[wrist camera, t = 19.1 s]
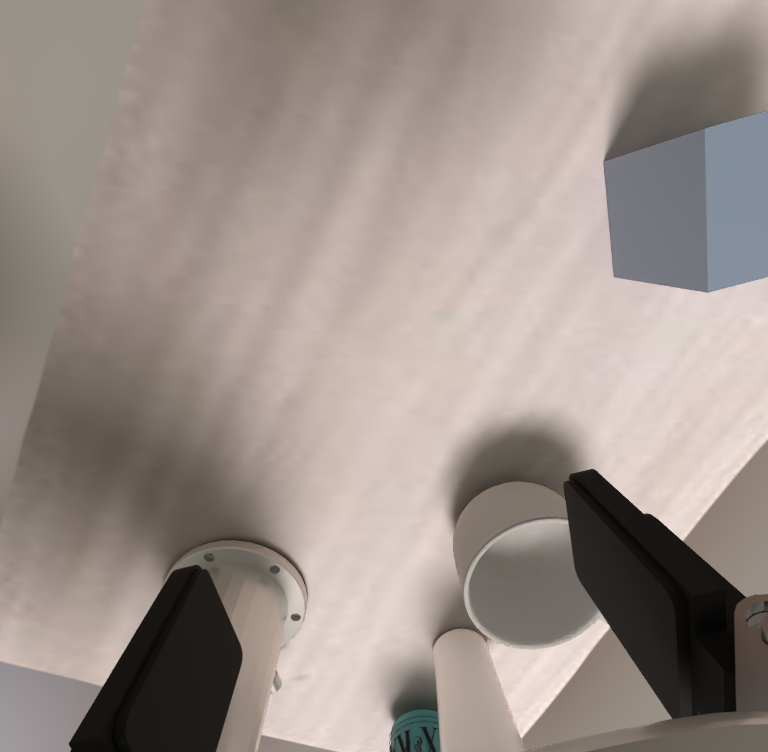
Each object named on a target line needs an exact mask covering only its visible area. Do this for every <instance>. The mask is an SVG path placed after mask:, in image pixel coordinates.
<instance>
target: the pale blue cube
mask: <svg viewBox="0 0 768 752" xmlns="http://www.w3.org/2000/svg"><path fill="white" fill-rule="evenodd" d="M604 170H605V182H606V193H607V204H608V215H609V226H610V238H611V249H612V260H613V271H614V277H616V278H622V279H628V280H634V281H640V282H646V283H652V284H658V285H665V286H671V287H677V288H683V289H689V290H695V291H701V292H707V293H708V292H712V291H716V290H720V289H724V288H727V287H731V286H735V285H739V284H743V283H746V282H750V281H754V280H758V279H762V278H765V277H768V111H765V112H761V113H758V114H754V115H751V116H747V117H744V118H740V119H736V120H733V121H729V122H726V123H722V124H719V125H715V126H712V127H708V128H705V129H702V130H699V131H696V132H693V133H690V134H686V135H683V136H680V137H677V138H674V139H671V140H668V141H665V142H662V143H659V144H656V145H653V146H650V147H647V148H644V149H640V150H637V151H634V152H631V153H628V154H625V155H622V156H619V157H616V158H613V159H610V160H607V161H604Z"/></svg>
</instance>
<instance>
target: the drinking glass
mask: <svg viewBox="0 0 768 752" xmlns="http://www.w3.org/2000/svg"><path fill="white" fill-rule="evenodd" d="M433 661H434V668H435V677H436V691H437V706H438V722H439V738H440V752H521V751H525V747H524V744H523V742H522V739H521V737H520V734H519V731H518V729H517V726H516V723H515V721H514V718H513V716H512V713H511V710H510V708H509V705H508V702H507V700H506V697H505V694H504V692H503V689H502V686H501V684H500V681H499V678H498V676H497V673H496V670H495V667H494V665H493V662H492V659H491V655H490V652H489V648H488V645H487V643H486V641H485V639H484V638H483V637H482V636H481V635H480V634H478V633H477V632H475V631H473V630H470V629H454V630H451V631H448V632H446V633H444V634H443V635H442V636H440V637H439V638H438V640H437V641H436V643H435V645H434V648H433Z"/></svg>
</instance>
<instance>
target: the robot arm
mask: <svg viewBox="0 0 768 752" xmlns="http://www.w3.org/2000/svg"><path fill="white" fill-rule="evenodd" d="M564 493H565V501H566V508H567V516H568V523H569V531H570V538H571V546H572V553H573V561H574V567H575V571H576V574H577V577H578V579H579V581H580V583H581V584H582V586H583V587H584V589H585V590H586V592H587V593H588V595H589V596H590V597H591V599H592V600H593V602H594V603H595V605H596V606H597V608H598V609H599V611H600V612H601V614H602V615H603V617H604V618H605V620H606V621H607V623H608V624H609V626H610V627H611V629H612V630H613V632H614V633H615V634H616V636H617V637H618V639H619V640H620V642H621V643H622V645H623V646H624V648H625V649H626V650H627V652H628V654H629V655H630V657H631V658H632V660H633V661H634V663H635V664H636V666H637V667H638V669H639V670H640V671H641V673H642V675H643V676H644V677H645V679H646V680H647V682H648V683H649V685H650V686H651V688H652V689H653V691H654V692H655V694H656V695H657V697H658V698H659V700H660V701H661V703H662V704H663V706H664V707H665V709H666V710H667V712H668V713H669V714H670V716H671V717H672V719H670V720H665V721H660V722H656V723H651V724H646V725H641V726H636V727H631V728H626V729H622V730H617V731H611V732H606V733H602V734H597V735H592V736H587V737H583V738H578V739H574V740H570V741H565V742H561V743H556V744H552V745H547V746H543V747H538V748H534V749H530V750H525V751H521V752H768V594H763V595H753V596H750V597H747V598H746V597H745V596H744V595H743V594H742V593H741V592H739V591H738V590H737V589H736V588H735V587H734V586H733V585H731V584H730V583H729V582H728V581H727V580H726V579H725V578H724V577H722V576H721V575H720V574H719V573H718V572H717V571H716V570H715V569H713V568H712V567H711V566H710V565H709V564H708V563H707V562H705V561H704V560H703V559H702V558H701V557H700V556H699V555H698V554H696V553H695V552H694V551H693V550H692V549H691V548H690V547H689V546H687V545H686V544H685V543H684V542H683V541H682V540H681V539H679V538H678V537H677V536H676V535H675V534H674V533H673V532H672V531H670V530H669V529H668V528H667V527H666V526H665V525H664V524H662V523H661V522H660V521H659V520H658V519H657V518H655V517H654V516H652V515H651V514H647V513H646V514H643V513H642V512H641V511H640V510H639V509H638V508H637V507H635V506H634V505H633V504H632V503H631V502H630V501H629V500H628V499H627V498H625V497H624V496H623V495H622V494H621V493H620V492H619V491H618V490H617V489H616V488H614V487H613V486H612V485H611V484H610V483H609V482H608V481H607V480H606V479H605V478H603V477H602V476H601V475H600V474H599V473H598V472H597V471H596V470H594V469H590V470H586V471H582V472H577V473H573V474H571V475H570V476H569V481H566V482H564ZM306 609H307V592H306V587H305V584H304V582H303V580H302V577H301V576H300V574H299V573H298V571H297V570H296V569H295V567H294V566H293V565H292V564H291V563H290V562H289V561H287V560H286V559H285V558H284V557H282V556H281V555H279V554H278V553H276V552H275V551H273V550H271V549H268V548H266V547H264V546H262V545H258V544H254V543H251V542H245V541H237V540H227V541H216V542H211V543H207V544H204V545H201V546H199V547H196V548H194V549H192V550H191V551H189V552H187V553H186V554H184V555H183V556H182V557H181V558H180V559H179V560H178V561H177V562H176V563H175V564H174V566H173V567H172V569H171V570H170V572H169V573H168V575H167V577H166V579H165V581H164V583H163V585H162V589H161V591H160V593H159V594H158V596H157V598H156V599H155V601H154V603H153V604H152V606H151V608H150V609H149V611H148V613H147V614H146V616H145V618H144V619H143V621H142V623H141V624H140V626H139V628H138V629H137V631H136V633H135V634H134V636H133V638H132V639H131V641H130V643H129V644H128V646H127V648H126V649H125V651H124V653H123V654H122V656H121V658H120V659H119V661H118V663H117V664H116V666H115V668H114V669H113V671H112V673H111V674H110V676H109V678H108V679H107V681H106V683H105V684H104V686H103V688H102V689H101V691H100V693H99V694H98V696H97V698H96V699H95V701H94V703H93V704H92V706H91V708H90V709H89V711H88V713H87V714H86V716H85V718H84V719H83V721H82V723H81V724H80V726H79V728H78V729H77V731H76V733H75V734H74V736H73V738H72V739H71V741H70V743H69V745H70V747H71V749H72V750H71V752H257V751H258V746H259V742H260V737H261V733H262V728H263V724H264V719H265V715H266V710H267V706H268V701H269V696H270V694H273V693H275V692H277V691H278V690H279V689H280V687H281V685H282V681H281V679H280V677H279V674H278V672H277V671H276V667H277V662H278V658H279V653H280V649H281V647H283V646H284V645H286V644H287V643H288V642H289V641H290V640H292V639H293V638H294V636H295V635H296V634H297V632H298V631H299V630H300V628H301V626H302V624H303V622H304V618H305V613H306Z"/></svg>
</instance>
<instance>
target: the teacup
mask: <svg viewBox="0 0 768 752" xmlns="http://www.w3.org/2000/svg"><path fill="white" fill-rule="evenodd" d="M453 552H454V559H455V564H456V569H457V573H458V577H459V580H460V584H461V587H462V591H463V599H464V604H465V607H466V610H467V612H468V615H469V617H470V619H471V620H472V622H473V623H474V625H475V626H476V627H477V628H478V629H479V630H480V631H481V632H482V633H483V634H484V635H485V636H487V637H488V638H490V639H492V640H493V641H495V642H497V643H499V644H503V645H505V646H508V647H514V648H519V649H542V648H548V647H552V646H556V645H559V644H562V643H564V642H567V641H569V640H571V639H573V638H575V637H576V636H578V635H580V634H581V633H583V632H584V631H585V630H586V629H588V628H589V627H590V626H591V625H592V624H594V623H595V622H596V621H597V620H598V619H599V618H600V619H601V620H602V621H604V622H605V623H607V621H606V620H605V618H604V617H603V615H602V614H601V612H600V611H599V609H598V608H597V606H596V605H595V603H594V602H593V600H592V599H591V597H590V596H589V595H588V593H587V592H586V590H585V589H584V587H583V586H582V584H581V583H580V581H579V579H578V577H577V574H576V571H575V567H574V561H573V553H572V546H571V538H570V531H569V523H568V516H567V508H566V501H565V499H564V498H563V497H562V496H560V495H559V494H558V493H556V492H554V491H553V490H551V489H549V488H547V487H545V486H542V485H539V484H535V483H531V482H519V481H516V482H508V483H503V484H499V485H496V486H493V487H491V488H489V489H487V490H485V491H483V492H482V493H480V494H479V495H477V496H476V497H475V498H474V499H473V500H472V501H471V502H469V504H468V505H467V506H466V507H465V509H464V510H463V512H462V513H461V515H460V517H459V519H458V521H457V524H456V527H455V531H454V537H453ZM607 624H608V623H607Z"/></svg>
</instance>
